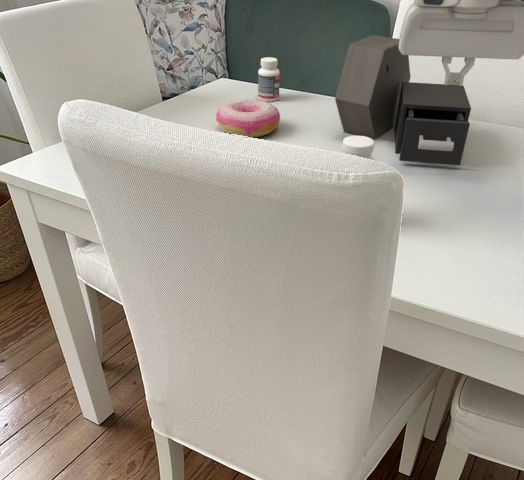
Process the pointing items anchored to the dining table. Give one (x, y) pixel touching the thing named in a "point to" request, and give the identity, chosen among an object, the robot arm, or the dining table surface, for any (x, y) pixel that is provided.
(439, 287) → the dining table surface
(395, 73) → the dark brown block
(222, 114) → the donut
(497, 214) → the dining table surface
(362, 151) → the supplement bottle
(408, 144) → the air fryer basket
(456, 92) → the box
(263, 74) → the pill bottle
